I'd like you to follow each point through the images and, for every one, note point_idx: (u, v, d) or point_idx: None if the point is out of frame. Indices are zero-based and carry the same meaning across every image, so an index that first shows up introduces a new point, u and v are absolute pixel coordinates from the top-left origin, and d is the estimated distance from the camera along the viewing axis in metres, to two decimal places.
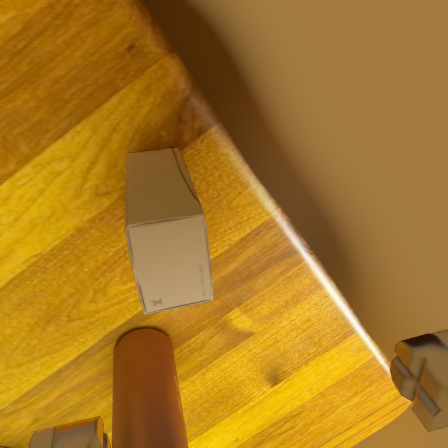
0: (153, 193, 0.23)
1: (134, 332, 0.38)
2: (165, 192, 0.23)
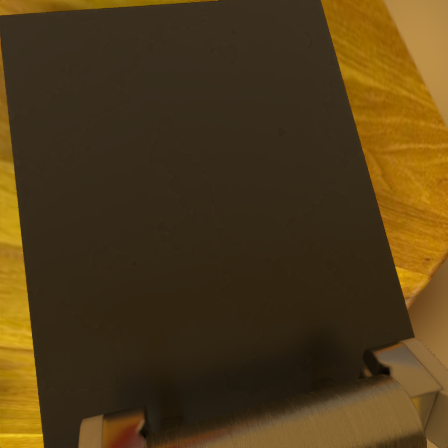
0: None
1: None
2: None
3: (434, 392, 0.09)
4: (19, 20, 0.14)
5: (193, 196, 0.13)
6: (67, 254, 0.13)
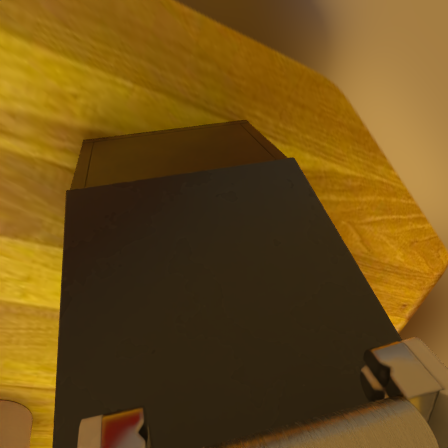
0: None
1: None
2: None
3: (435, 392, 0.09)
4: (80, 191, 0.20)
5: (205, 294, 0.16)
6: (95, 346, 0.14)
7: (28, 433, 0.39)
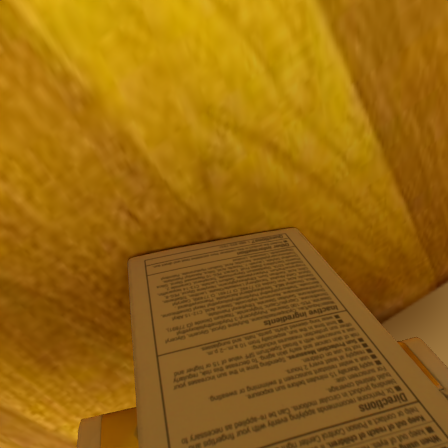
0: None
1: None
2: None
3: None
4: None
5: None
6: None
7: None
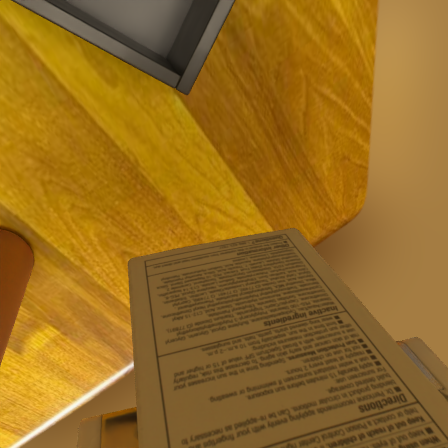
0: None
1: (30, 249, 0.33)
2: None
3: None
4: None
5: None
6: None
7: None
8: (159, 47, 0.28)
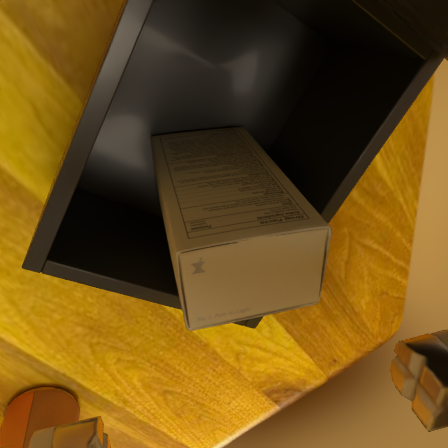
0: None
1: (76, 402, 0.34)
2: None
3: None
4: None
5: None
6: None
7: None
8: None
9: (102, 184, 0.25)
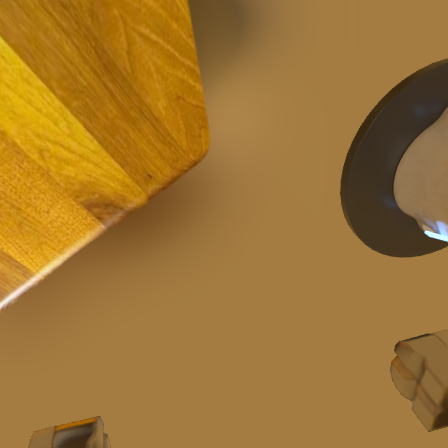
0: None
1: None
2: None
3: None
4: None
5: None
6: None
7: None
8: None
9: None
